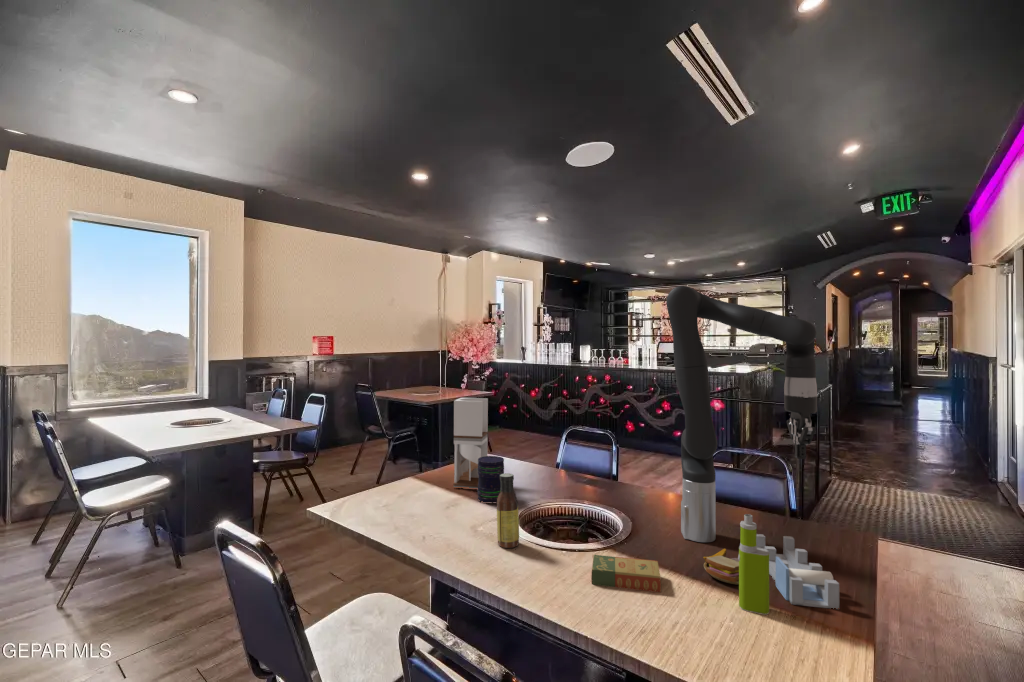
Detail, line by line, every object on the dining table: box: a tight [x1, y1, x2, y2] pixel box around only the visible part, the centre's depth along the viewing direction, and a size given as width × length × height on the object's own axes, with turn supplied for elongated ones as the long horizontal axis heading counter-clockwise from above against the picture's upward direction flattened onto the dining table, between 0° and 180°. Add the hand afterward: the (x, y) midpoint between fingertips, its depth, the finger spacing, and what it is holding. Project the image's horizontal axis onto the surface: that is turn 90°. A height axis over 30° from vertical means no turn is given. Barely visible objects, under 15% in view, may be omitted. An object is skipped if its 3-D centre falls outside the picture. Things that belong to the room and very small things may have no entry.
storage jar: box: [477, 455, 505, 502], centre depth 172 cm, size 10×10×15 cm
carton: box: [590, 554, 662, 593], centre depth 113 cm, size 8×16×4 cm, turn 77°
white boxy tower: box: [452, 397, 489, 488], centre depth 190 cm, size 11×11×35 cm
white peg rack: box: [756, 533, 840, 610], centre depth 115 cm, size 10×26×7 cm, turn 169°
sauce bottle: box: [496, 472, 520, 549], centre depth 133 cm, size 6×6×20 cm
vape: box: [737, 513, 770, 615], centre depth 102 cm, size 4×6×20 cm, turn 67°
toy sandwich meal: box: [702, 548, 739, 586], centre depth 117 cm, size 12×14×5 cm
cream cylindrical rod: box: [788, 568, 835, 586], centre depth 107 cm, size 10×3×3 cm, turn 79°
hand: (800, 458), depth 125 cm, fingers closed
